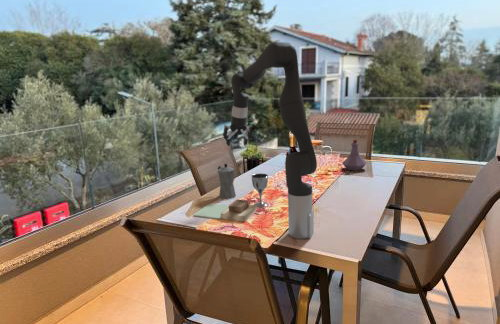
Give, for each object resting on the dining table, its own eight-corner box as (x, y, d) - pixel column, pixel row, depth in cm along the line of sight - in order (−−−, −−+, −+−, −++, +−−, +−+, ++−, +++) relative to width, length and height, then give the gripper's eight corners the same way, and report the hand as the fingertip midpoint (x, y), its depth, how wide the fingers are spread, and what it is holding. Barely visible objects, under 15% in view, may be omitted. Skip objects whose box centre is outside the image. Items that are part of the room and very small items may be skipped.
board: (256, 210, 159) (256, 205, 159) (245, 221, 147) (245, 216, 146) (234, 207, 164) (233, 203, 163) (220, 218, 151) (220, 213, 151)
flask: (350, 165, 237) (351, 137, 232) (372, 168, 224) (373, 139, 220) (336, 169, 227) (337, 140, 222) (358, 173, 214) (359, 142, 210)
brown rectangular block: (248, 206, 158) (248, 200, 157) (241, 213, 150) (240, 207, 149) (237, 205, 160) (236, 199, 159) (229, 212, 152) (228, 205, 151)
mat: (234, 207, 165) (234, 206, 165) (219, 219, 151) (219, 218, 150) (210, 204, 170) (209, 203, 170) (193, 216, 156) (193, 214, 156)
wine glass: (271, 203, 168) (270, 174, 165) (264, 208, 162) (262, 178, 158) (257, 200, 172) (256, 172, 169) (249, 205, 166) (248, 176, 162)
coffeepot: (241, 197, 179) (239, 164, 175) (226, 201, 174) (223, 167, 170) (227, 190, 192) (225, 159, 188) (212, 193, 187) (210, 162, 183)
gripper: (227, 117, 157) (224, 148, 164) (255, 117, 161) (252, 147, 169) (223, 112, 163) (221, 142, 171) (251, 112, 168) (247, 141, 175)
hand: (236, 145), depth 170 cm, fingers open, 8 cm apart
